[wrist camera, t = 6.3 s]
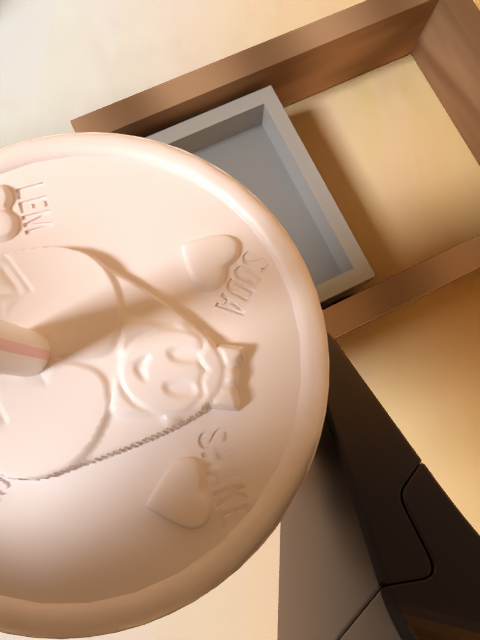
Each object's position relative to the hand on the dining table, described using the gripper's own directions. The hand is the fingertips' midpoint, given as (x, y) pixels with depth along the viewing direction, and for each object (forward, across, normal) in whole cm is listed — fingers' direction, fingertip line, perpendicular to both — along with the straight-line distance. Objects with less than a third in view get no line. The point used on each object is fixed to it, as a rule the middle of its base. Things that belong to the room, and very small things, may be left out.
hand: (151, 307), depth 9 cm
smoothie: (+4, 0, +6) cm, 7 cm away
